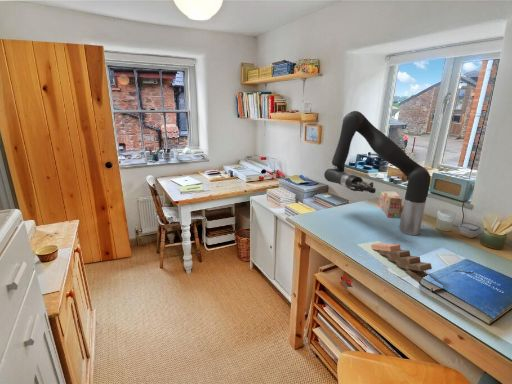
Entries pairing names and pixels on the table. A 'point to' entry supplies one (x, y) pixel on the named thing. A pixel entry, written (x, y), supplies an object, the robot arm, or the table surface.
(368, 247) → the domino mat
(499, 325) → the table surface
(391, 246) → the loose domino
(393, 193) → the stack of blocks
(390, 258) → the domino
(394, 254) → the domino
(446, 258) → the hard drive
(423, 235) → the table surface
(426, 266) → the domino
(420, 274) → the domino
